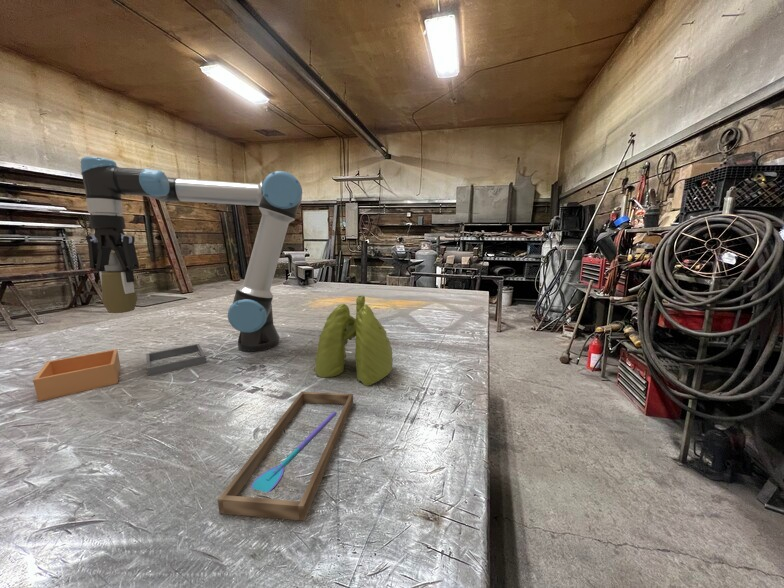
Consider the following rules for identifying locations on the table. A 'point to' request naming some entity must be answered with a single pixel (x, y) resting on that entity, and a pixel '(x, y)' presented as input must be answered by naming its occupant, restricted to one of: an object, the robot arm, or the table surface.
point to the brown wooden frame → (262, 506)
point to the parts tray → (177, 364)
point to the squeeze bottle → (116, 289)
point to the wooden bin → (77, 374)
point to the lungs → (369, 347)
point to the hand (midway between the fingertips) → (118, 292)
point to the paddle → (283, 464)
